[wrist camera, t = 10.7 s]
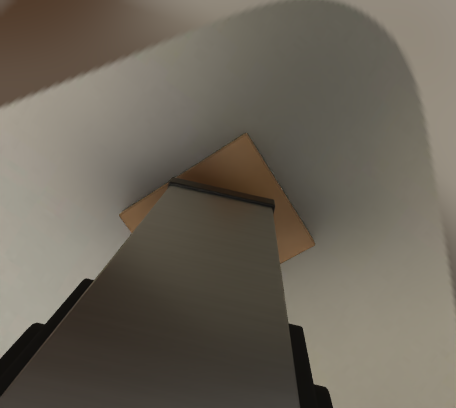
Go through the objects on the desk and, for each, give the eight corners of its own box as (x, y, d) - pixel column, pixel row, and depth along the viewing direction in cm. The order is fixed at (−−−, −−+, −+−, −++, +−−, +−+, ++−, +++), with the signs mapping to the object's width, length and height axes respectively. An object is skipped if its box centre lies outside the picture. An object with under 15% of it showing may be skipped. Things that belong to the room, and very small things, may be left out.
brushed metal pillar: (172, 176, 15) (-104, 496, 4) (274, 199, 15) (342, 596, 4) (153, 288, 17) (-80, 765, 5) (245, 308, 17) (225, 832, 5)
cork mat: (246, 132, 17) (246, 134, 16) (313, 240, 18) (315, 245, 18) (122, 211, 18) (118, 215, 18) (192, 305, 20) (191, 312, 19)
